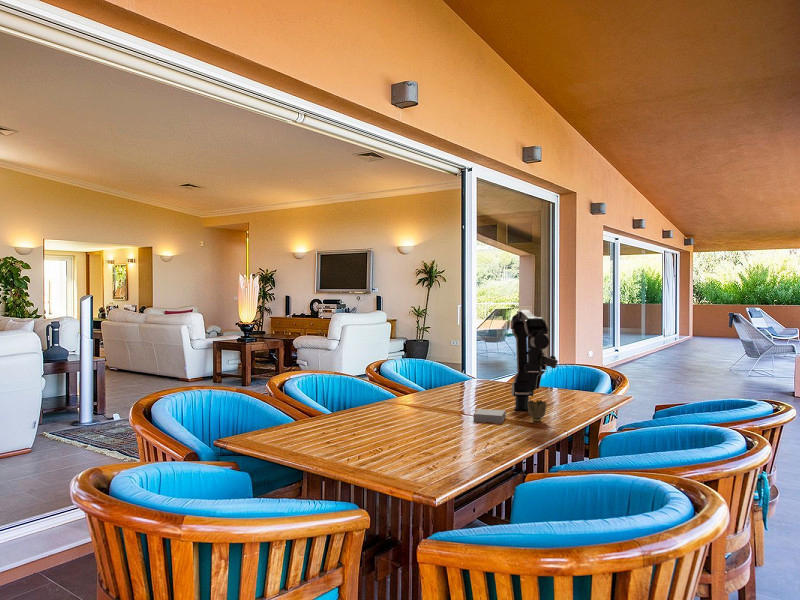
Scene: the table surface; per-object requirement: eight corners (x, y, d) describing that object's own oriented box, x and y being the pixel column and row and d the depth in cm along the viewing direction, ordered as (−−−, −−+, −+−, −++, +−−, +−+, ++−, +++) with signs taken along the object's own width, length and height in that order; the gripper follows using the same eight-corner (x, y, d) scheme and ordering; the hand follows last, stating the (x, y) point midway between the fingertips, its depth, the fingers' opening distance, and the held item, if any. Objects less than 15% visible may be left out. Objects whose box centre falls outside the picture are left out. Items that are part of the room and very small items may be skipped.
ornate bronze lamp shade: (545, 420, 227) (545, 399, 227) (548, 424, 219) (548, 403, 219) (525, 419, 227) (526, 399, 227) (528, 423, 220) (528, 402, 220)
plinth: (478, 416, 234) (478, 408, 234) (505, 417, 230) (505, 410, 230) (473, 421, 223) (473, 413, 223) (501, 423, 220) (501, 415, 220)
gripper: (553, 349, 213) (554, 391, 211) (558, 349, 230) (559, 388, 229) (523, 349, 217) (524, 390, 216) (530, 349, 234) (531, 387, 233)
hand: (535, 389), depth 223 cm, fingers open, 9 cm apart
